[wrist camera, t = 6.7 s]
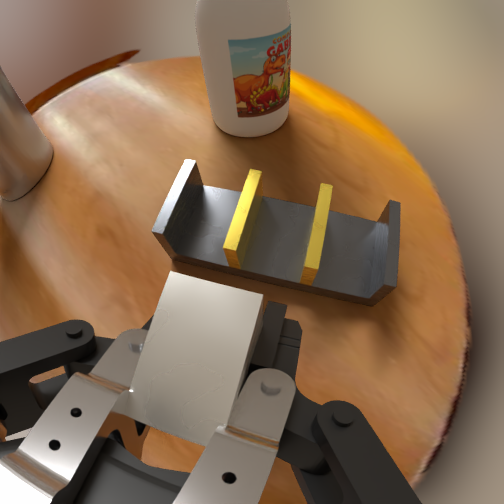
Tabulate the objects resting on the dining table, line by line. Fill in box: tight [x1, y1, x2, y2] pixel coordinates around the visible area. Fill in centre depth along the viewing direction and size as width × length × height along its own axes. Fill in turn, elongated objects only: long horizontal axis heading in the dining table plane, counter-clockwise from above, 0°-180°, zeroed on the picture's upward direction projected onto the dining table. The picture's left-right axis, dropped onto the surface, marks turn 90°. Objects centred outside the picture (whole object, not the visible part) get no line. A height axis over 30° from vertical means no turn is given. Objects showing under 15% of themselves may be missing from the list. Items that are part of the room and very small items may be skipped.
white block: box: [125, 271, 263, 446], centre depth 10 cm, size 4×2×10 cm, turn 165°
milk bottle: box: [195, 0, 291, 137], centre depth 20 cm, size 8×8×20 cm
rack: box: [152, 160, 400, 306], centre depth 20 cm, size 6×15×4 cm, turn 75°
